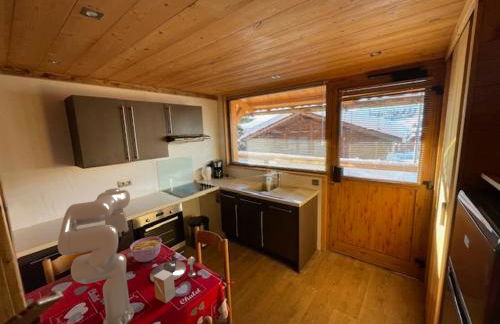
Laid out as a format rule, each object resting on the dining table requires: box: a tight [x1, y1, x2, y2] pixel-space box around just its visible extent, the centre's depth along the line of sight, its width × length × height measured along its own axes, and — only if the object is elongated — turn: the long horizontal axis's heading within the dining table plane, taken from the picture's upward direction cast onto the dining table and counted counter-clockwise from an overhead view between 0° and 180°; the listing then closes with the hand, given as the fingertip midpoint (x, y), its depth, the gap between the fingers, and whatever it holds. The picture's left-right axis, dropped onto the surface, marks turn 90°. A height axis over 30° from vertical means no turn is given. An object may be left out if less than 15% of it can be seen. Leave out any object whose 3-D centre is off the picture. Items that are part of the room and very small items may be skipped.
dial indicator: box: [187, 256, 197, 278], centre depth 131 cm, size 4×4×12 cm
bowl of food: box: [129, 236, 162, 263], centre depth 151 cm, size 20×20×12 cm
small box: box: [153, 270, 176, 304], centre depth 113 cm, size 8×6×13 cm
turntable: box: [149, 254, 187, 283], centre depth 134 cm, size 21×21×6 cm
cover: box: [163, 260, 176, 273], centre depth 134 cm, size 7×7×5 cm
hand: (119, 243), depth 119 cm, fingers closed
